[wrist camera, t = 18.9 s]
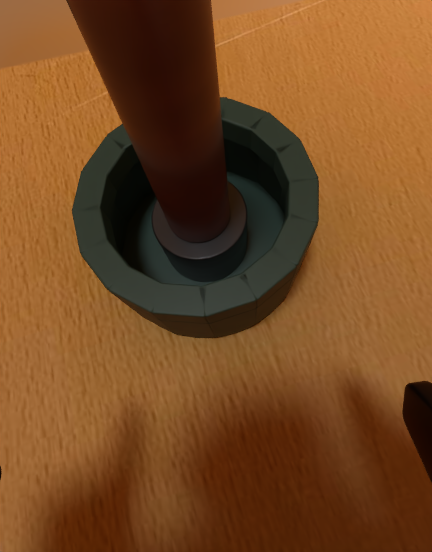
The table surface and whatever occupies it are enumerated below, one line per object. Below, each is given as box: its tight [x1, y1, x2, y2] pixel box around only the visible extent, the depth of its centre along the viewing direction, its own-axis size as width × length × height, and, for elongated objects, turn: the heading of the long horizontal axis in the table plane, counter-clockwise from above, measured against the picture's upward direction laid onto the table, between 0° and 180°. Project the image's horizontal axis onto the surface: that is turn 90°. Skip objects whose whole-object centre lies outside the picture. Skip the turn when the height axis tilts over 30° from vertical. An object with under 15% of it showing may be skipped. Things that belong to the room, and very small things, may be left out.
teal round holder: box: [72, 97, 319, 338], centre depth 16 cm, size 9×9×5 cm
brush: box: [66, 0, 247, 282], centre depth 12 cm, size 4×4×13 cm
